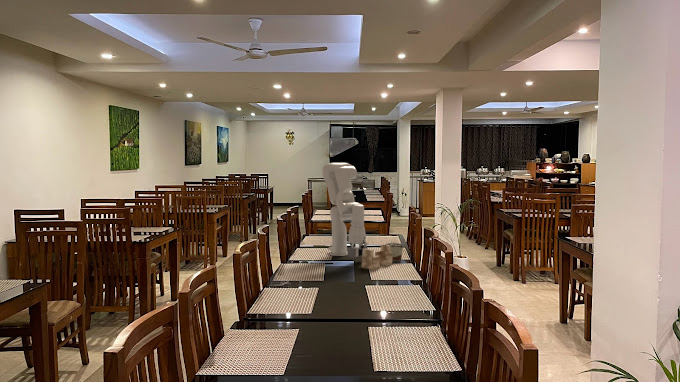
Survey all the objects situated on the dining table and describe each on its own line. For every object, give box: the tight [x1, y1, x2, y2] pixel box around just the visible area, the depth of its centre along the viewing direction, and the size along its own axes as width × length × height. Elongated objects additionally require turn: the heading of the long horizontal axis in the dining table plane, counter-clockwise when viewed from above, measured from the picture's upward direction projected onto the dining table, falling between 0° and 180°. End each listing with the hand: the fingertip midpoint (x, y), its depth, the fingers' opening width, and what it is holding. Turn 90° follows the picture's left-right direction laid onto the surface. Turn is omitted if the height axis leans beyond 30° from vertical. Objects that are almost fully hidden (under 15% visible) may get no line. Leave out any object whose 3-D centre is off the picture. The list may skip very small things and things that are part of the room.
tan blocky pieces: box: [361, 243, 393, 271], centre depth 295 cm, size 8×19×11 cm, turn 141°
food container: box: [384, 242, 404, 262], centre depth 310 cm, size 12×6×10 cm, turn 84°
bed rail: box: [347, 244, 368, 259], centre depth 304 cm, size 4×14×5 cm, turn 141°
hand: (357, 254), depth 304 cm, fingers closed on bed rail, 4 cm apart
